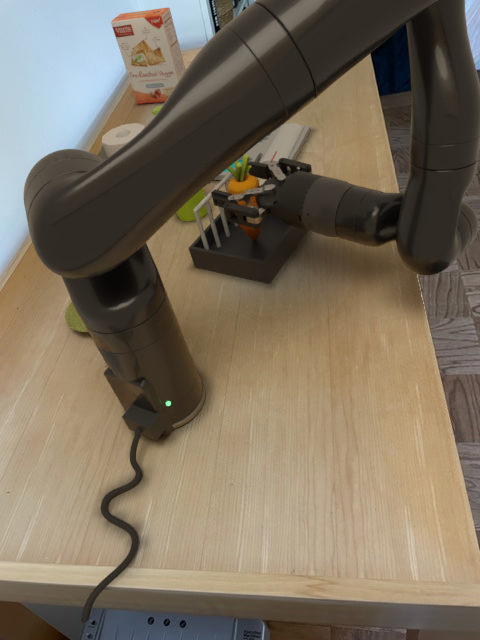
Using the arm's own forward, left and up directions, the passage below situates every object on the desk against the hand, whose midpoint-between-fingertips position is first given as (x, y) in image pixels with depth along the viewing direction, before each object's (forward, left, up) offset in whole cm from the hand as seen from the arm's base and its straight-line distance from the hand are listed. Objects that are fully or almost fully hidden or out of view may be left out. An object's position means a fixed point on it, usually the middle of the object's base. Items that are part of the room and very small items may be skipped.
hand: (231, 181), depth 82 cm
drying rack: (0, -2, -12) cm, 12 cm away
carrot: (0, -2, -11) cm, 11 cm away
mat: (-22, +13, -12) cm, 28 cm away
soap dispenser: (+6, +14, -12) cm, 19 cm away
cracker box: (+51, +54, -12) cm, 75 cm away
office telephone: (+27, +15, -12) cm, 33 cm away
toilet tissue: (+16, +38, -12) cm, 43 cm away
